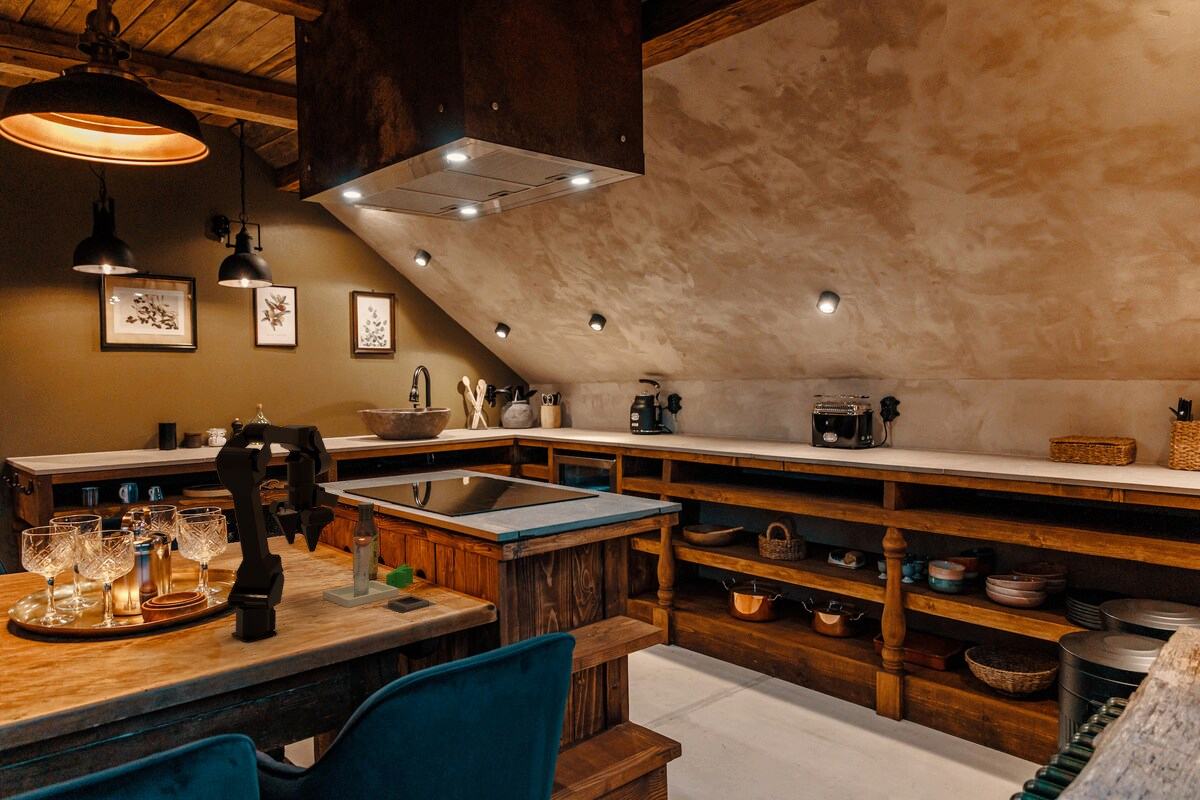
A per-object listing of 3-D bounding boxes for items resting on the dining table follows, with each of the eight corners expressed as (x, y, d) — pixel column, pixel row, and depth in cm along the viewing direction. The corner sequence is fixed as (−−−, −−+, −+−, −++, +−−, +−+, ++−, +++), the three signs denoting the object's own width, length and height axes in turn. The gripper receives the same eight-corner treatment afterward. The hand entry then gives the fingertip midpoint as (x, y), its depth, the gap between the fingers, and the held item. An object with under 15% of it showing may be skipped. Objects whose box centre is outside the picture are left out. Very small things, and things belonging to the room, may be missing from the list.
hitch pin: (363, 599, 174) (364, 540, 174) (348, 597, 176) (349, 538, 175) (373, 595, 178) (375, 536, 178) (358, 593, 180) (359, 535, 179)
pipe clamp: (400, 594, 183) (400, 575, 183) (385, 593, 183) (386, 574, 183) (417, 581, 194) (417, 564, 194) (403, 581, 194) (403, 563, 194)
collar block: (401, 615, 166) (401, 609, 165) (379, 607, 171) (380, 601, 171) (437, 605, 173) (437, 599, 173) (415, 598, 178) (415, 593, 178)
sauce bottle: (378, 581, 193) (380, 504, 193) (353, 582, 191) (354, 505, 190) (376, 574, 199) (377, 500, 199) (351, 576, 197) (353, 501, 196)
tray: (348, 609, 168) (348, 600, 168) (322, 600, 175) (322, 591, 175) (398, 597, 179) (398, 588, 179) (372, 589, 186) (373, 580, 186)
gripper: (356, 481, 169) (356, 548, 170) (312, 471, 181) (313, 534, 182) (310, 487, 160) (310, 558, 161) (267, 476, 172) (268, 542, 173)
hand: (301, 547), depth 170 cm, fingers open, 9 cm apart
